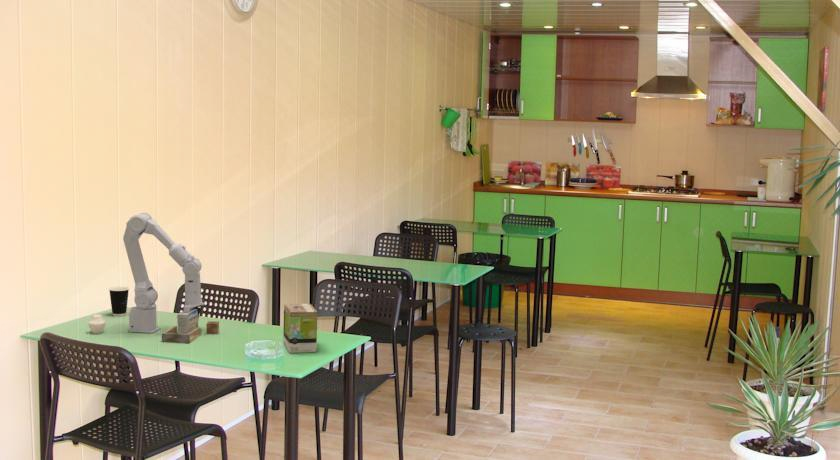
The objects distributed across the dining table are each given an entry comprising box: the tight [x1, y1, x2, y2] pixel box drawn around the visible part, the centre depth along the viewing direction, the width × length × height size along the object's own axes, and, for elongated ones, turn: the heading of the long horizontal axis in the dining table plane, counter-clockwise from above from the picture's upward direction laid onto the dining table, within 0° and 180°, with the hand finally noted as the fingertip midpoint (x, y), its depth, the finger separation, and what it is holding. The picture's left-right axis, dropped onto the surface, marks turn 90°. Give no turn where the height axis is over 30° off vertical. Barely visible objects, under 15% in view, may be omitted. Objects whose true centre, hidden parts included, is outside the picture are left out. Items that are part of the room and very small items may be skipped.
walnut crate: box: [205, 320, 220, 335], centre depth 341 cm, size 4×4×4 cm
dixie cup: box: [108, 286, 130, 317], centre depth 366 cm, size 8×8×11 cm
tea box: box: [282, 303, 318, 354], centre depth 321 cm, size 15×10×15 cm, turn 17°
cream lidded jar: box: [88, 313, 107, 335], centre depth 336 cm, size 6×6×7 cm
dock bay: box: [161, 325, 201, 344], centre depth 331 cm, size 10×12×3 cm
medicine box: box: [176, 308, 199, 334], centre depth 336 cm, size 8×4×9 cm, turn 166°
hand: (193, 326), depth 341 cm, fingers closed, pressing on medicine box
